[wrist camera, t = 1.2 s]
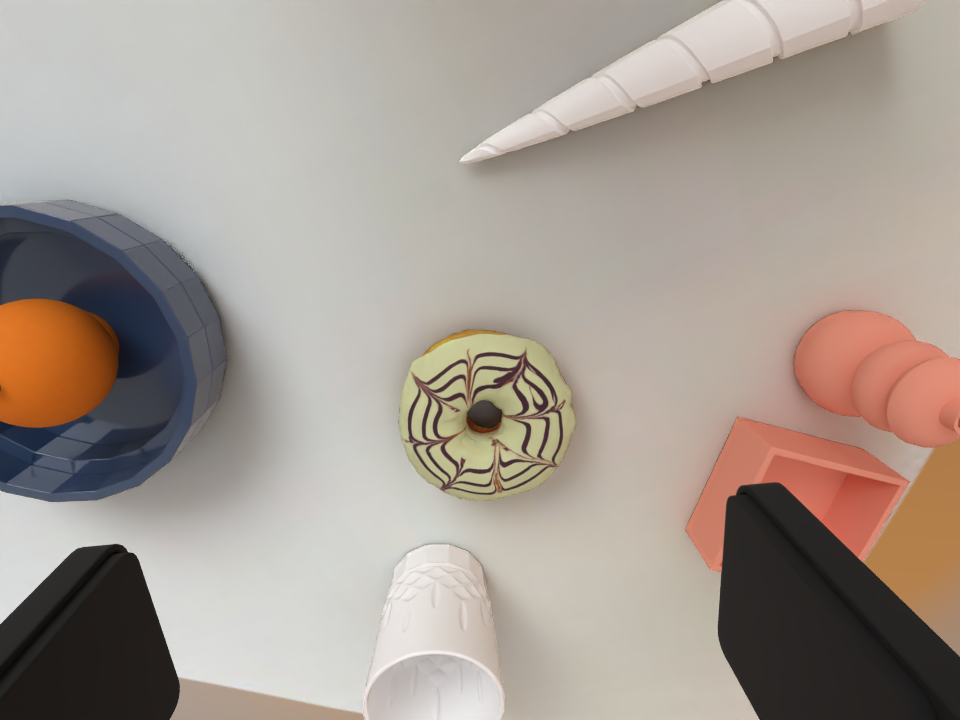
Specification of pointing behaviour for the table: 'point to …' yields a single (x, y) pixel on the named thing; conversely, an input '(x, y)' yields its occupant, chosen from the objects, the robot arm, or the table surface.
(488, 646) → the white cup
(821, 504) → the pottery
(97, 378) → the orange
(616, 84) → the unicorn horn
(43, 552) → the table surface
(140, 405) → the blue bowl
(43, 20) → the table surface
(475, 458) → the decorated donut
